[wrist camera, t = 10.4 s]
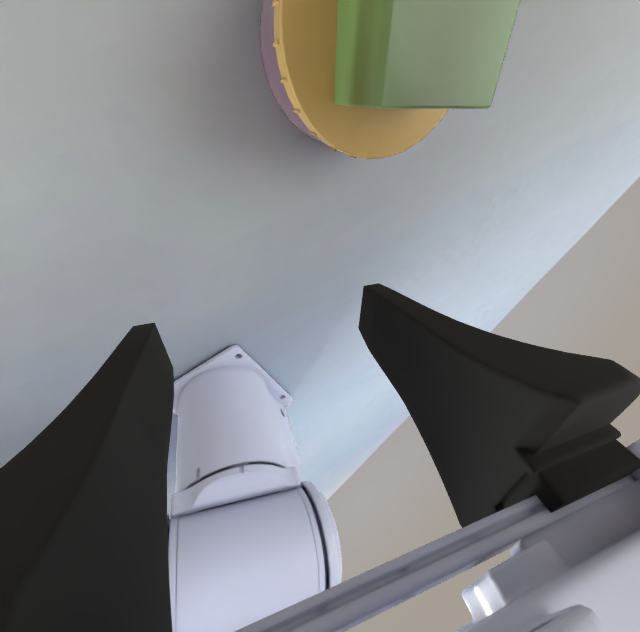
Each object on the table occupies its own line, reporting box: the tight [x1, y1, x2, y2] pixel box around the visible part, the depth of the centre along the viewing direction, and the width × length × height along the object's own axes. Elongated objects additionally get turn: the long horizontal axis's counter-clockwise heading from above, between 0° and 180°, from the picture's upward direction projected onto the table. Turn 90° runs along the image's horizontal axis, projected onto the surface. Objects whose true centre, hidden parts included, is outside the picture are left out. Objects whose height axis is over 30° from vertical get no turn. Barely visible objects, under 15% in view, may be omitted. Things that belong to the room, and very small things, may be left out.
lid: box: [272, 0, 448, 159], centre depth 12 cm, size 9×9×1 cm
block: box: [334, 0, 521, 109], centre depth 10 cm, size 4×4×4 cm
